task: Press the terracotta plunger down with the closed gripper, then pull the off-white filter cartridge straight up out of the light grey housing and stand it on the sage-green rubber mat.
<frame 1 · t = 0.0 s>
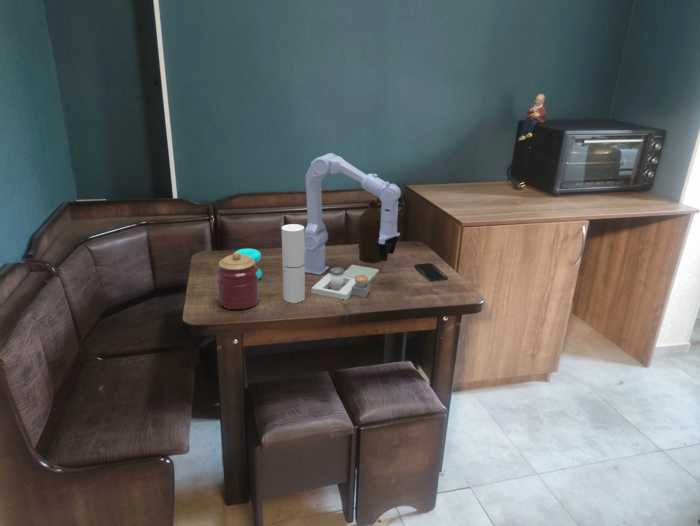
hand: (387, 256, 187), 10 cm above the table, tool pointing down, fingers open, 7 cm apart
phone: (430, 274, 201), on the table
mat: (360, 274, 198), on the table
cyan rounded piece: (248, 278, 193), on the table
canister: (239, 302, 174), on the table
cartridge: (336, 288, 186), resting in housing
olive oil: (370, 259, 213), on the table
cylindrical container: (294, 298, 178), on the table
plunger: (361, 283, 181), point 4 cm above the table, slide at 0.0 cm
housing: (336, 288, 186), on the table
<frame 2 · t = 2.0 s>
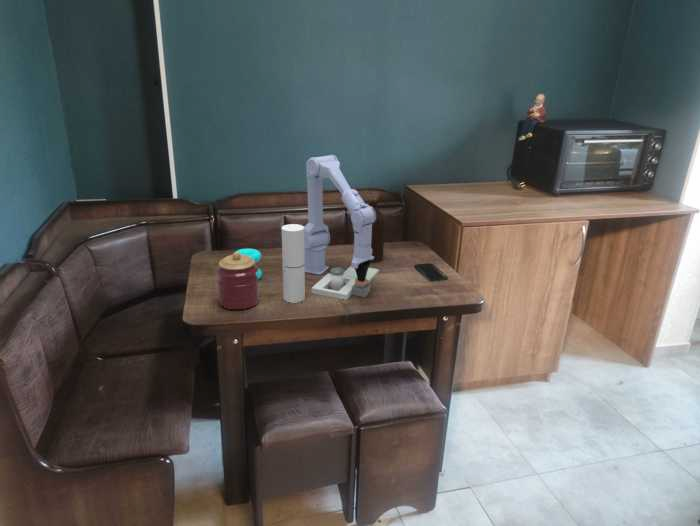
hand: (361, 280, 181), 5 cm above the table, tool pointing down, fingers closed, pressing on plunger
plunger: (361, 286, 182), point 3 cm above the table, slide at 1.1 cm, touching gripper
everything else where it was.
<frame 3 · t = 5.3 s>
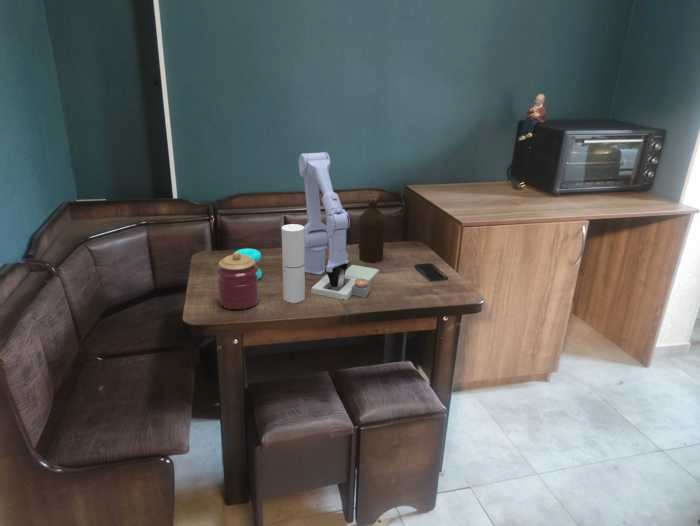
hand: (337, 283, 185), 2 cm above the table, tool pointing down, fingers closed on cartridge, 5 cm apart
cartridge: (336, 288, 186), resting in housing, touching gripper
plunger: (361, 287, 182), point 2 cm above the table, slide at 1.4 cm
everything else where it was.
when the fingers open (4 cm above the table, at t = 9.2 s): cartridge drops 1 cm, resting on mat.
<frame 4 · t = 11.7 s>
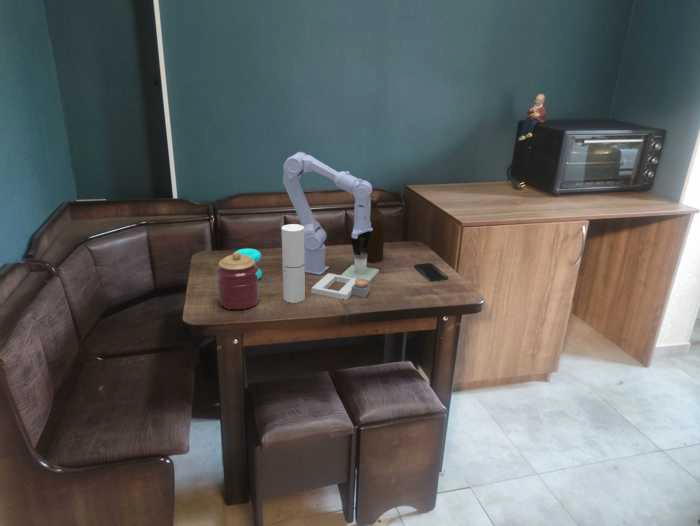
hand: (361, 251, 194), 9 cm above the table, tool pointing down, fingers open, 7 cm apart
cartridge: (360, 272, 197), point 1 cm above the table, touching mat
everything else where it was.
at the end: plunger slide at 1.4 cm; cartridge 0.0 cm off-centre on the mat, point 1.0 cm above the mat's base; cartridge tilted 1° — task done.
